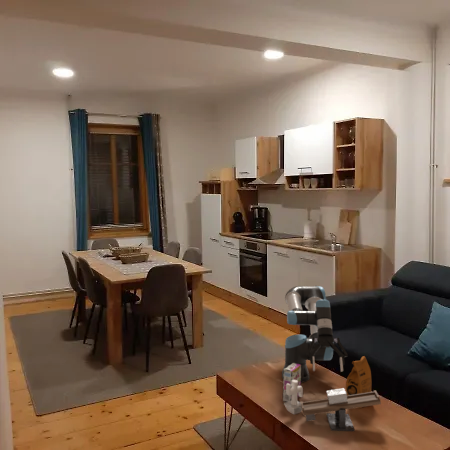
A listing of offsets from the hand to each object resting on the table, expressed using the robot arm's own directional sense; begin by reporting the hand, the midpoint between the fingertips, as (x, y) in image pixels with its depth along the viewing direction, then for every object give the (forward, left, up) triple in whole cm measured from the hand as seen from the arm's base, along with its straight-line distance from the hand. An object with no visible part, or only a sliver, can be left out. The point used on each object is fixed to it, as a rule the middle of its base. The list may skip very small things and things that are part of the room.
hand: (328, 370), depth 232 cm
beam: (+22, +3, -10) cm, 25 cm away
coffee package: (+1, +15, -16) cm, 21 cm away
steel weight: (+22, +1, -6) cm, 23 cm away
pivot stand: (+22, +2, -15) cm, 27 cm away
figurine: (+12, -17, -16) cm, 26 cm away
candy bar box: (-2, -17, -16) cm, 23 cm away
